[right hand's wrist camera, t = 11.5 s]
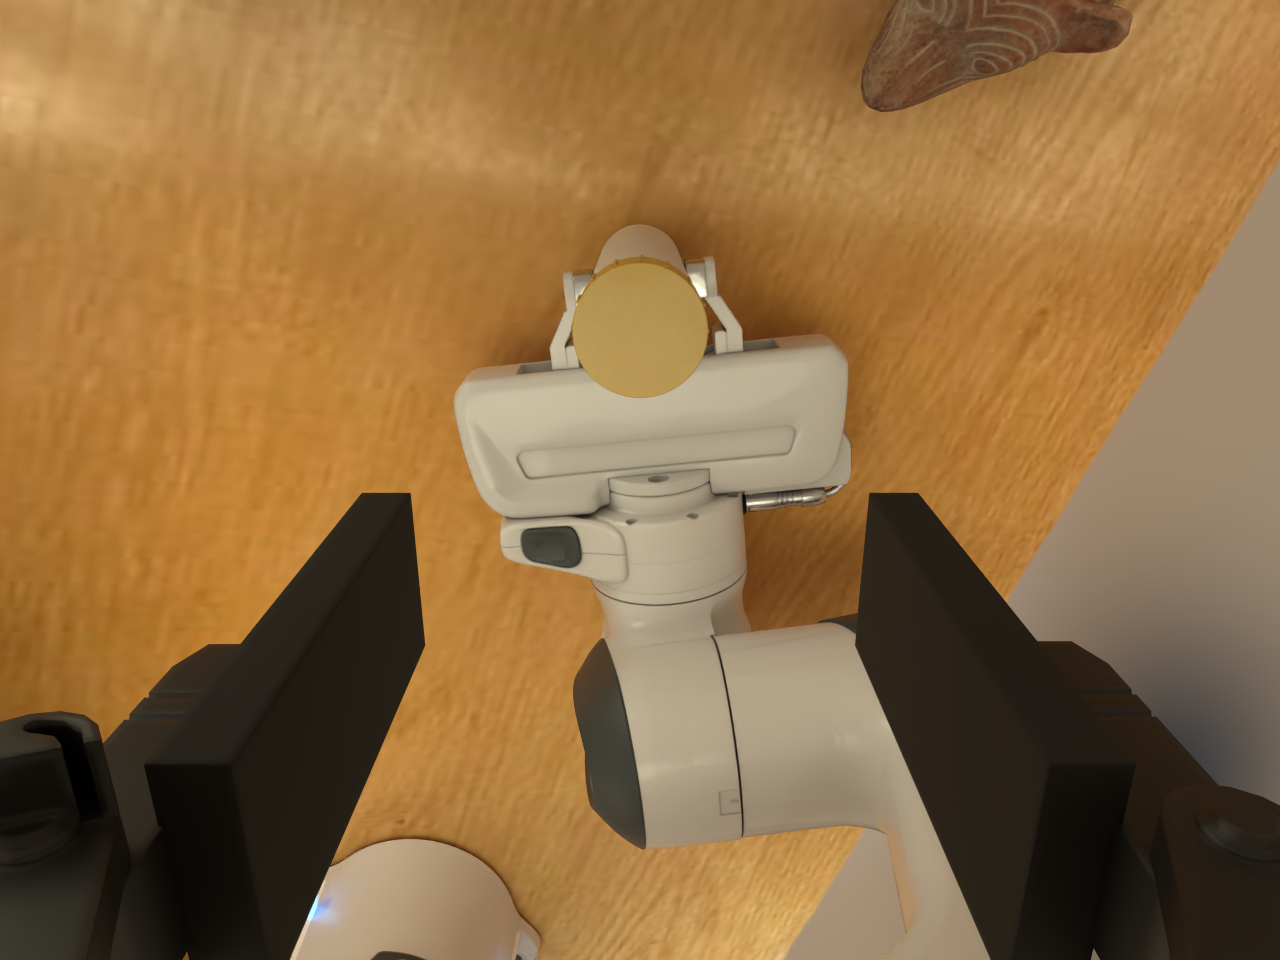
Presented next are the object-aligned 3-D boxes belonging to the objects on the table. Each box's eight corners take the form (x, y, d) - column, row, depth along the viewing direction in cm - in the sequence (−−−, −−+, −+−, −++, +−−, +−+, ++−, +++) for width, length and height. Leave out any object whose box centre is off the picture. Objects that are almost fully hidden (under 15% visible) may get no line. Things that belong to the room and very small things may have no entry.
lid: (549, 301, 34) (544, 310, 33) (661, 229, 33) (662, 233, 32) (620, 409, 36) (619, 424, 34) (729, 342, 35) (735, 353, 33)
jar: (583, 253, 51) (552, 310, 33) (653, 207, 50) (660, 240, 32) (627, 323, 52) (621, 413, 34) (696, 279, 51) (726, 349, 34)
